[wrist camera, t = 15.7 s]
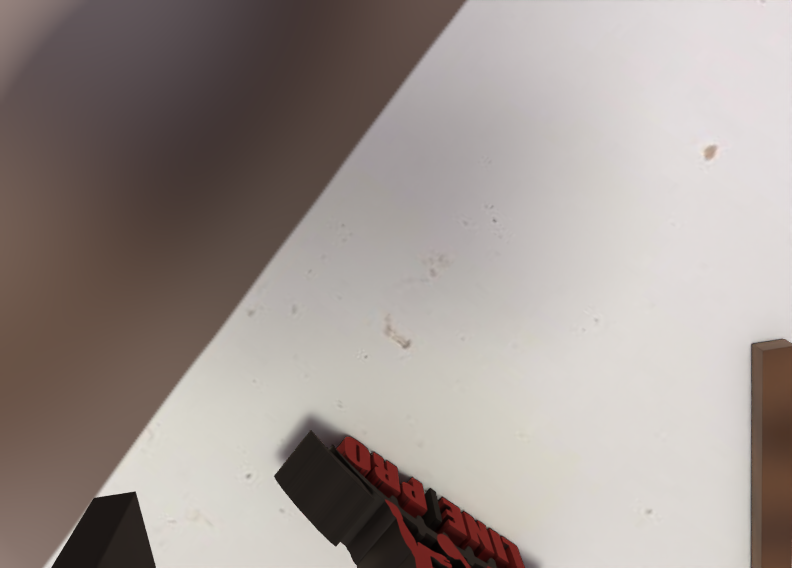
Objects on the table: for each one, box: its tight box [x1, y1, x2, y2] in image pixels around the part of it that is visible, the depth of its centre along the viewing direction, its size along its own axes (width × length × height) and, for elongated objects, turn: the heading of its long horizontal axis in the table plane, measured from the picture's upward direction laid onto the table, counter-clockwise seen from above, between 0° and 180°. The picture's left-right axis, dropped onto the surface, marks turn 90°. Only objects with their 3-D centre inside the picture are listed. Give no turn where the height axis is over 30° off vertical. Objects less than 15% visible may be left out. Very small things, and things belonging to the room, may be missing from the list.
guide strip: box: [752, 339, 792, 568], centre depth 45 cm, size 24×2×1 cm, turn 8°
